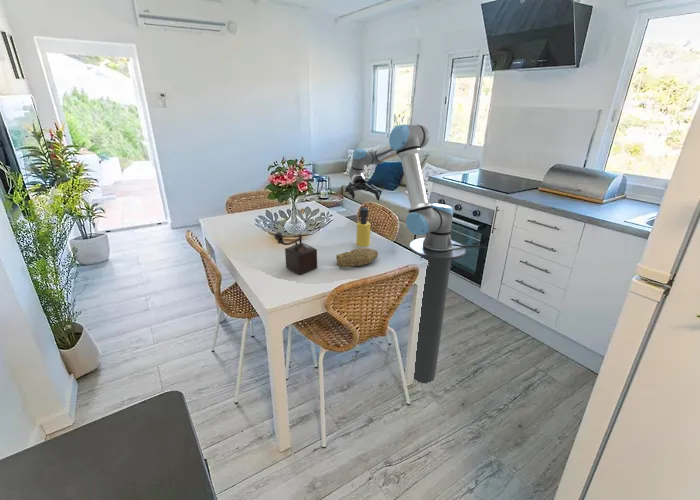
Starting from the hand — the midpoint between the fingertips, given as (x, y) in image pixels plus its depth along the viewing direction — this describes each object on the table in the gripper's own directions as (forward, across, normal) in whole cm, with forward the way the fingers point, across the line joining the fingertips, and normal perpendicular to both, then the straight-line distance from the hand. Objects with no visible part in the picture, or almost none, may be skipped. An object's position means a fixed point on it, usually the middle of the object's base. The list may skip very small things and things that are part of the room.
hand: (366, 197), depth 183 cm
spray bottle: (+11, 0, -22) cm, 25 cm away
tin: (-30, +31, -34) cm, 55 cm away
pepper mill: (+37, +36, -21) cm, 56 cm away
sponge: (+34, +8, -19) cm, 40 cm away
